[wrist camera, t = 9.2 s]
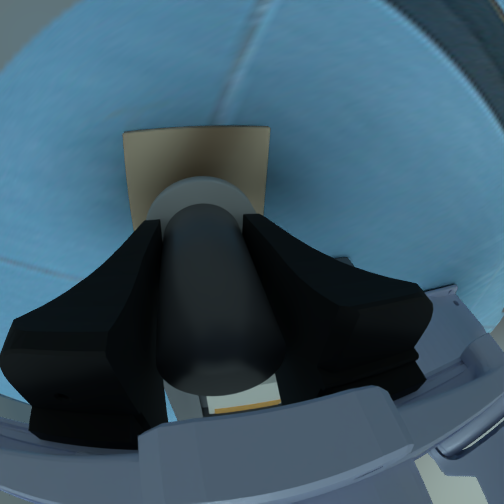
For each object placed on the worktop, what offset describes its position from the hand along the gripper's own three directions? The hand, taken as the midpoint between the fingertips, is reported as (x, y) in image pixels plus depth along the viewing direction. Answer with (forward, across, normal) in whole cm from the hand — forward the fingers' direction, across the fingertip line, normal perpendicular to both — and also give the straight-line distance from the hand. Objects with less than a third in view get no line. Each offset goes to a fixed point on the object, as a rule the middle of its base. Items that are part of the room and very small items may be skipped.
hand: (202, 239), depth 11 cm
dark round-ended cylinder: (+3, 0, 0) cm, 3 cm away
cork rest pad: (+5, 0, 0) cm, 5 cm away
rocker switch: (+2, -3, +15) cm, 15 cm away
